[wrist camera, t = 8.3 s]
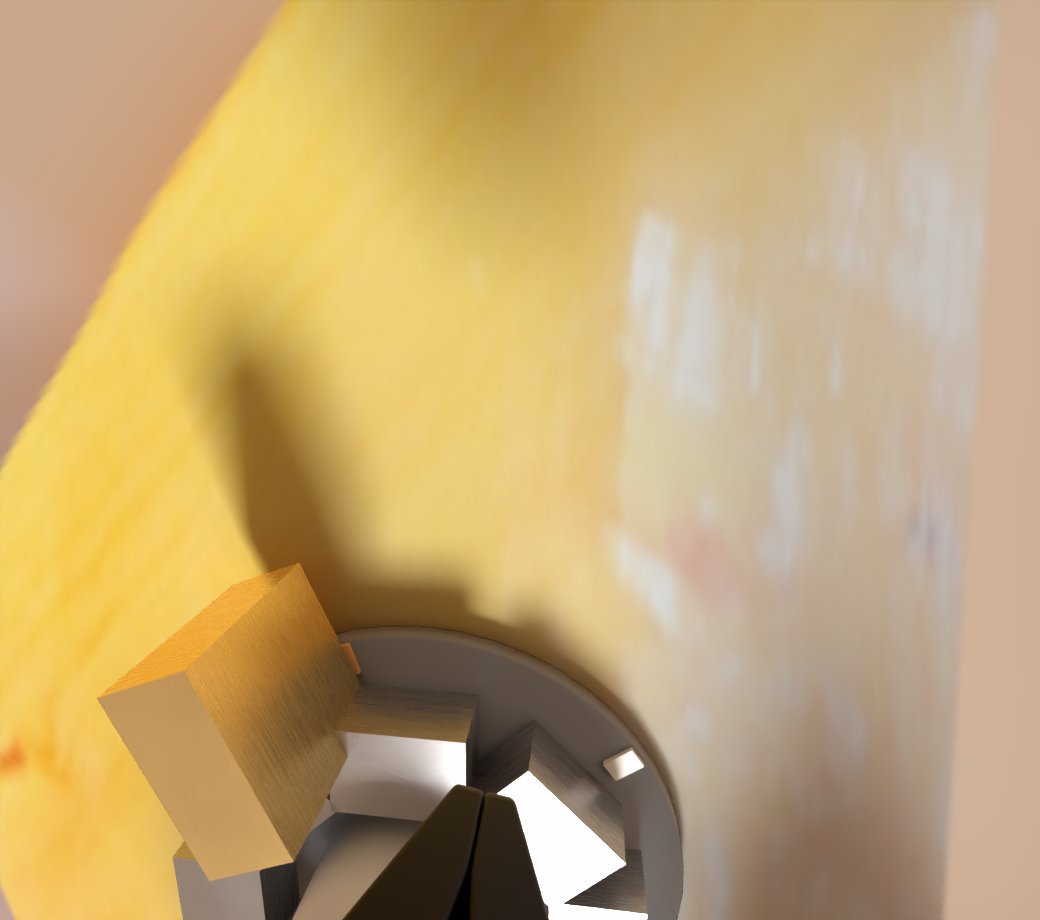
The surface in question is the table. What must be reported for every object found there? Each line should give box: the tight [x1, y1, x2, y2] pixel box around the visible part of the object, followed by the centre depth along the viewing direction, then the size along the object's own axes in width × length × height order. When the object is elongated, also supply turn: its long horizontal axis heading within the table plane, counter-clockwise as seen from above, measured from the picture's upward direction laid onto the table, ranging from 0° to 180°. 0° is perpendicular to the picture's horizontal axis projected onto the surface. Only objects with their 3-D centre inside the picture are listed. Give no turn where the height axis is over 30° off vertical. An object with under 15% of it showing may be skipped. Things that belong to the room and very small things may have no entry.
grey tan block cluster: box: [97, 563, 647, 920], centre depth 15 cm, size 16×13×5 cm
